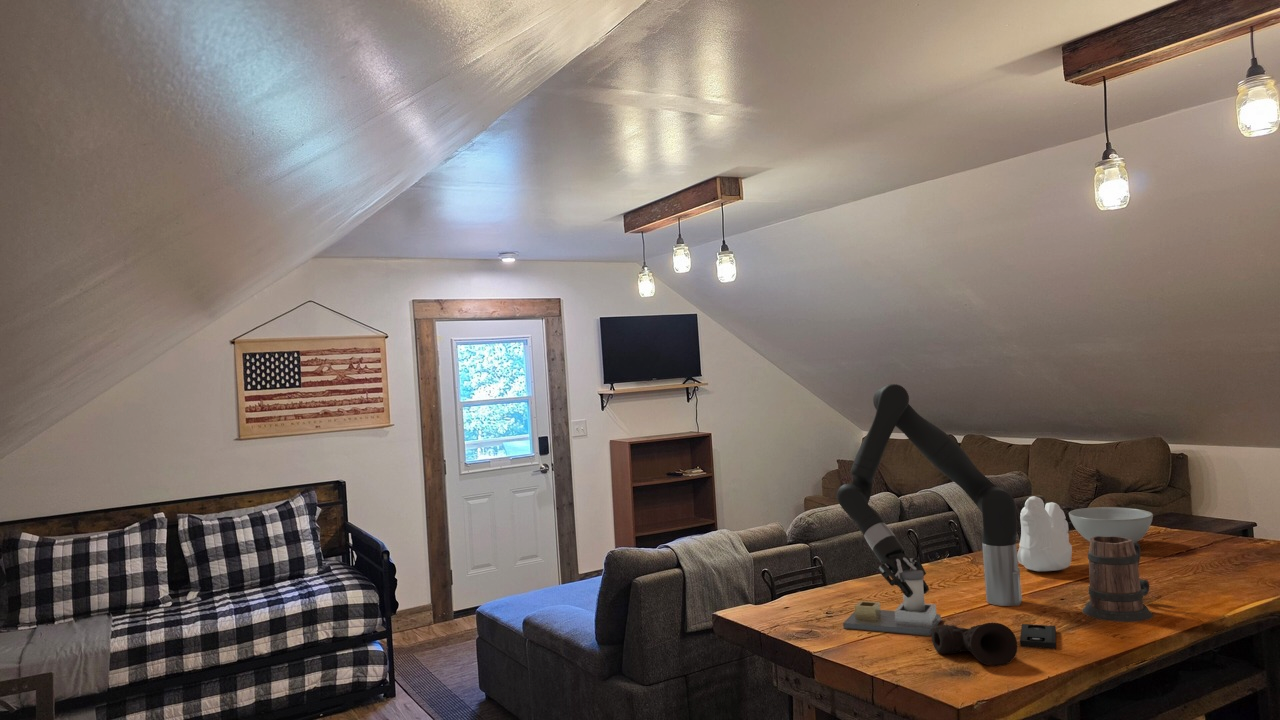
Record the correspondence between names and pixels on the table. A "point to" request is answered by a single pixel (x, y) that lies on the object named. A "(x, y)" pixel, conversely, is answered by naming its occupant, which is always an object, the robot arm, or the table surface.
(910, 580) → the grey and white cylinder
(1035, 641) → the vhs tape
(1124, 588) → the tankard
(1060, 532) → the white figurine
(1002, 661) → the pipe
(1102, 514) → the decorative bowl
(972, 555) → the table surface
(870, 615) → the plate
